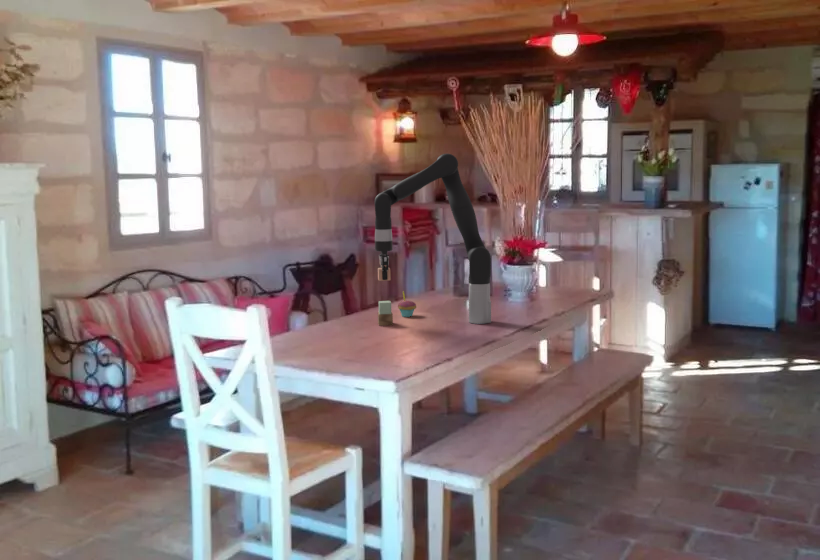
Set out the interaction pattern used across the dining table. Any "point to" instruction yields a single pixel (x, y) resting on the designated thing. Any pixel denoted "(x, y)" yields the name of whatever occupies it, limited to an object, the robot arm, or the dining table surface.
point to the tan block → (381, 275)
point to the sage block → (384, 307)
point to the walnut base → (385, 319)
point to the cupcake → (406, 307)
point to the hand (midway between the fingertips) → (384, 278)
